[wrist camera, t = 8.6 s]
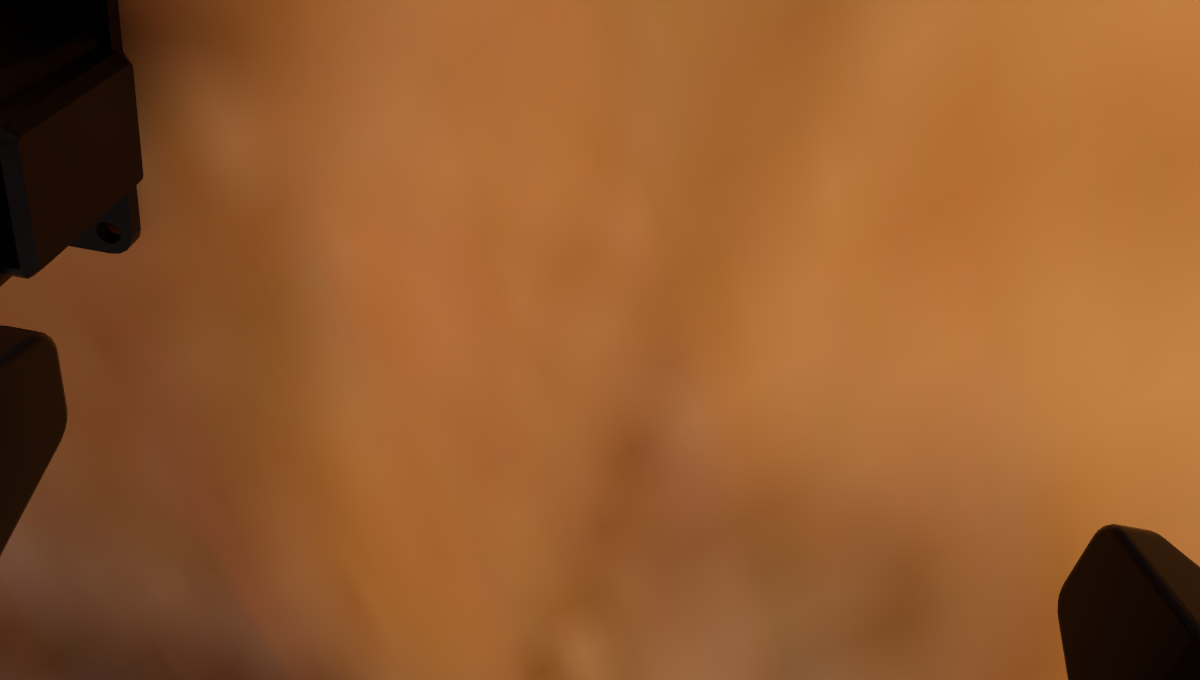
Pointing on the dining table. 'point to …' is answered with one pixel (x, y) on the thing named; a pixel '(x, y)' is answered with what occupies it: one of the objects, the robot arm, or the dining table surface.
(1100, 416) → the dining table surface
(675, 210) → the dining table surface
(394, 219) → the dining table surface
